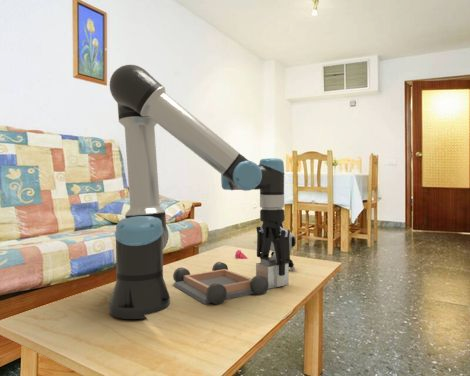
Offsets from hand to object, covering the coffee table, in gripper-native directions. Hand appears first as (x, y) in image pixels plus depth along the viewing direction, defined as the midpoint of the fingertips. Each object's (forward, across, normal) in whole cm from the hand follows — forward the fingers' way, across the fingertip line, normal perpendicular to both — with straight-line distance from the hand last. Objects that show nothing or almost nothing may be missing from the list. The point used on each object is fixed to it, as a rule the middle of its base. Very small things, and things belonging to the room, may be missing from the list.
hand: (272, 283), depth 107 cm
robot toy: (+1, +13, -14) cm, 19 cm away
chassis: (0, +6, +16) cm, 17 cm away
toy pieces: (+1, +33, -14) cm, 36 cm away
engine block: (0, 0, 0) cm, 0 cm away
